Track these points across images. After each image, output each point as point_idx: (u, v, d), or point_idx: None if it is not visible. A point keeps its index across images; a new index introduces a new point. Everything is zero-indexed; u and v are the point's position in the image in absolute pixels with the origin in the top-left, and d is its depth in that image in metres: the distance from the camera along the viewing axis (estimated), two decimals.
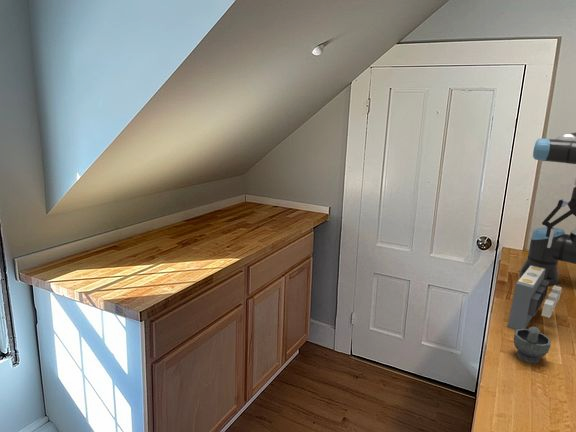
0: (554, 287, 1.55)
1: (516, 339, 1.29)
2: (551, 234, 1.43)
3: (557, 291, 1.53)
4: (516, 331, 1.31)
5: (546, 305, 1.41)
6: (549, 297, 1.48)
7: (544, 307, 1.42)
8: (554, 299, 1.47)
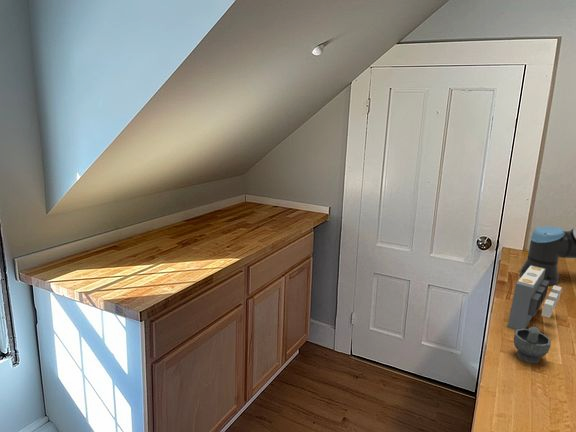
0: (554, 287, 1.55)
1: (516, 339, 1.29)
2: None
3: (557, 291, 1.53)
4: (516, 331, 1.31)
5: (546, 305, 1.41)
6: (549, 297, 1.48)
7: (544, 307, 1.42)
8: (554, 299, 1.47)
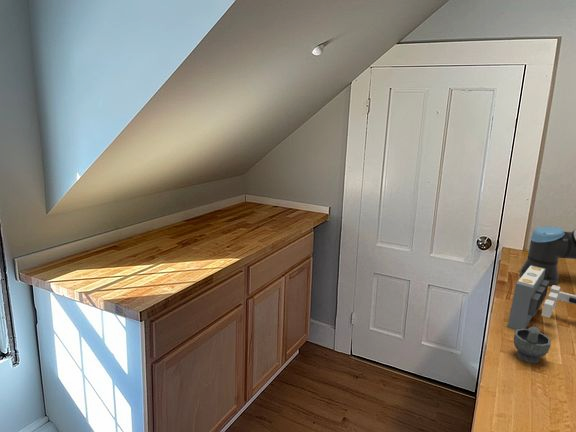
0: (553, 287, 1.55)
1: (516, 339, 1.29)
2: None
3: (556, 291, 1.53)
4: (516, 331, 1.31)
5: (546, 305, 1.41)
6: (549, 297, 1.48)
7: (544, 307, 1.42)
8: (554, 299, 1.47)
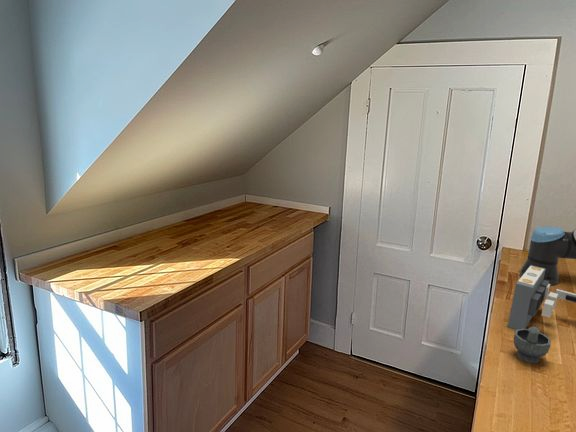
0: None
1: (516, 339, 1.29)
2: None
3: (546, 288, 1.55)
4: (516, 331, 1.31)
5: (546, 305, 1.41)
6: (549, 297, 1.48)
7: (544, 307, 1.42)
8: (554, 299, 1.47)
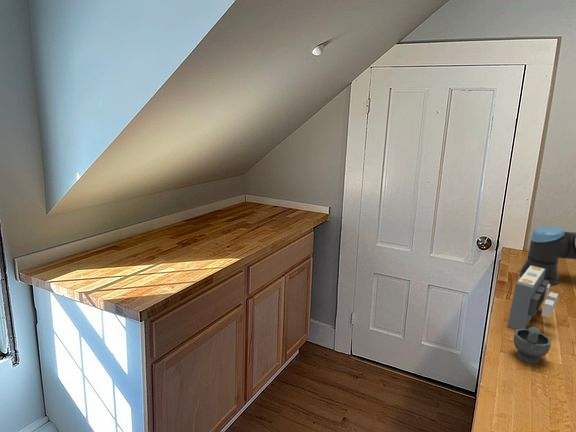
0: None
1: (516, 339, 1.29)
2: None
3: (546, 288, 1.55)
4: (516, 331, 1.31)
5: (546, 305, 1.41)
6: (549, 297, 1.48)
7: (544, 307, 1.42)
8: (554, 299, 1.47)
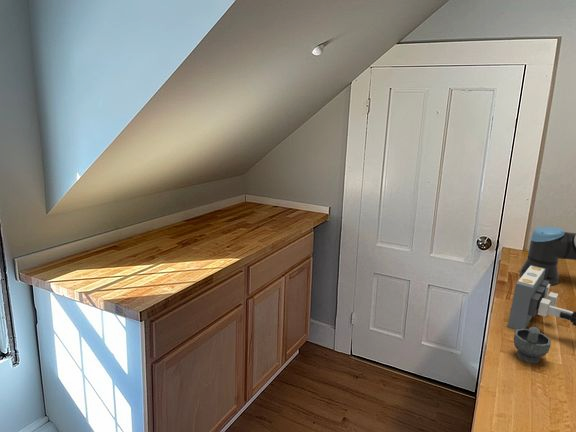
0: None
1: (516, 339, 1.29)
2: None
3: (546, 288, 1.55)
4: (516, 331, 1.31)
5: (542, 304, 1.42)
6: (549, 297, 1.48)
7: (540, 306, 1.43)
8: (554, 299, 1.47)
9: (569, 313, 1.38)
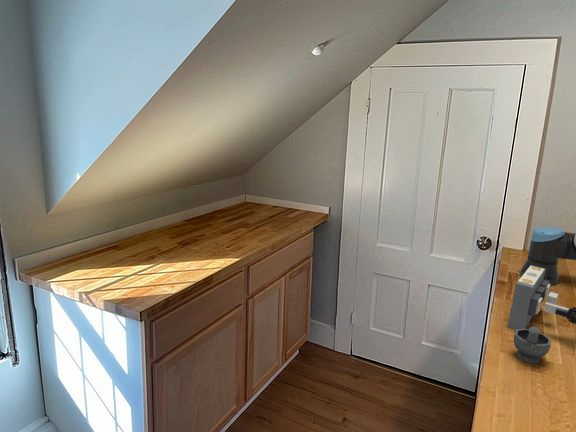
0: None
1: (516, 339, 1.29)
2: None
3: (546, 288, 1.55)
4: (516, 331, 1.31)
5: None
6: (549, 297, 1.48)
7: None
8: (554, 299, 1.47)
9: (565, 310, 1.39)
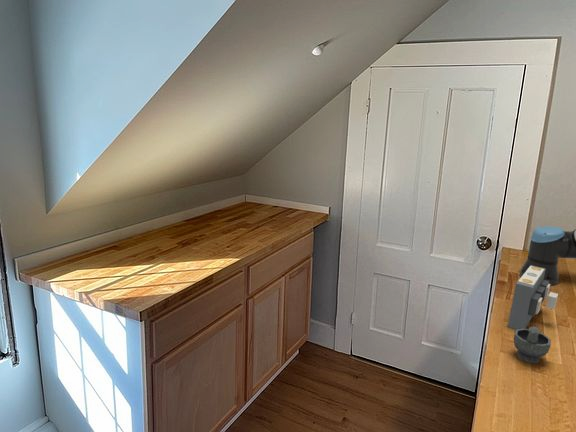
0: None
1: (516, 339, 1.29)
2: None
3: (546, 288, 1.55)
4: (516, 331, 1.31)
5: None
6: (549, 297, 1.48)
7: None
8: (554, 299, 1.47)
9: None
